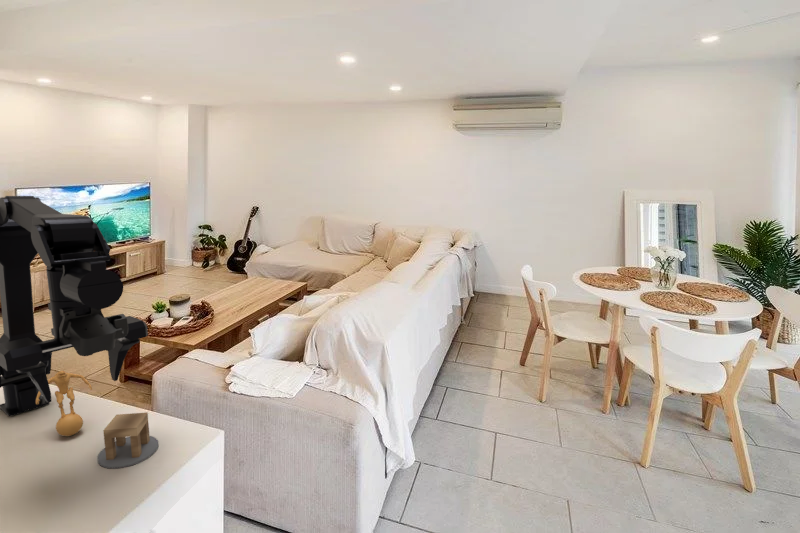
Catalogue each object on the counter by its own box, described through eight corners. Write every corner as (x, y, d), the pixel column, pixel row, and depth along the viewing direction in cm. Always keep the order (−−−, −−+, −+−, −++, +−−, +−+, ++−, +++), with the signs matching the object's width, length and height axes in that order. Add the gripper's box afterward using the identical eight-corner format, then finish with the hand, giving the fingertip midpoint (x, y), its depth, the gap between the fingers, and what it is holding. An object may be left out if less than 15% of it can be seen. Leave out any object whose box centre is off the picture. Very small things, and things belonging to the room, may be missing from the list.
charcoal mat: (88, 455, 73) (87, 453, 73) (142, 431, 80) (142, 429, 80) (112, 475, 68) (112, 473, 68) (168, 448, 76) (168, 446, 75)
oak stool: (106, 460, 71) (103, 430, 70) (119, 442, 76) (116, 414, 75) (139, 457, 72) (136, 427, 71) (149, 440, 77) (147, 412, 76)
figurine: (43, 448, 74) (35, 384, 72) (38, 434, 78) (30, 373, 76) (100, 429, 80) (94, 370, 78) (92, 417, 84) (86, 361, 82)
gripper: (13, 321, 54) (28, 433, 57) (161, 294, 69) (167, 383, 72) (-14, 306, 60) (1, 408, 63) (128, 284, 75) (135, 366, 78)
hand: (83, 390), depth 69 cm, fingers open, 9 cm apart
